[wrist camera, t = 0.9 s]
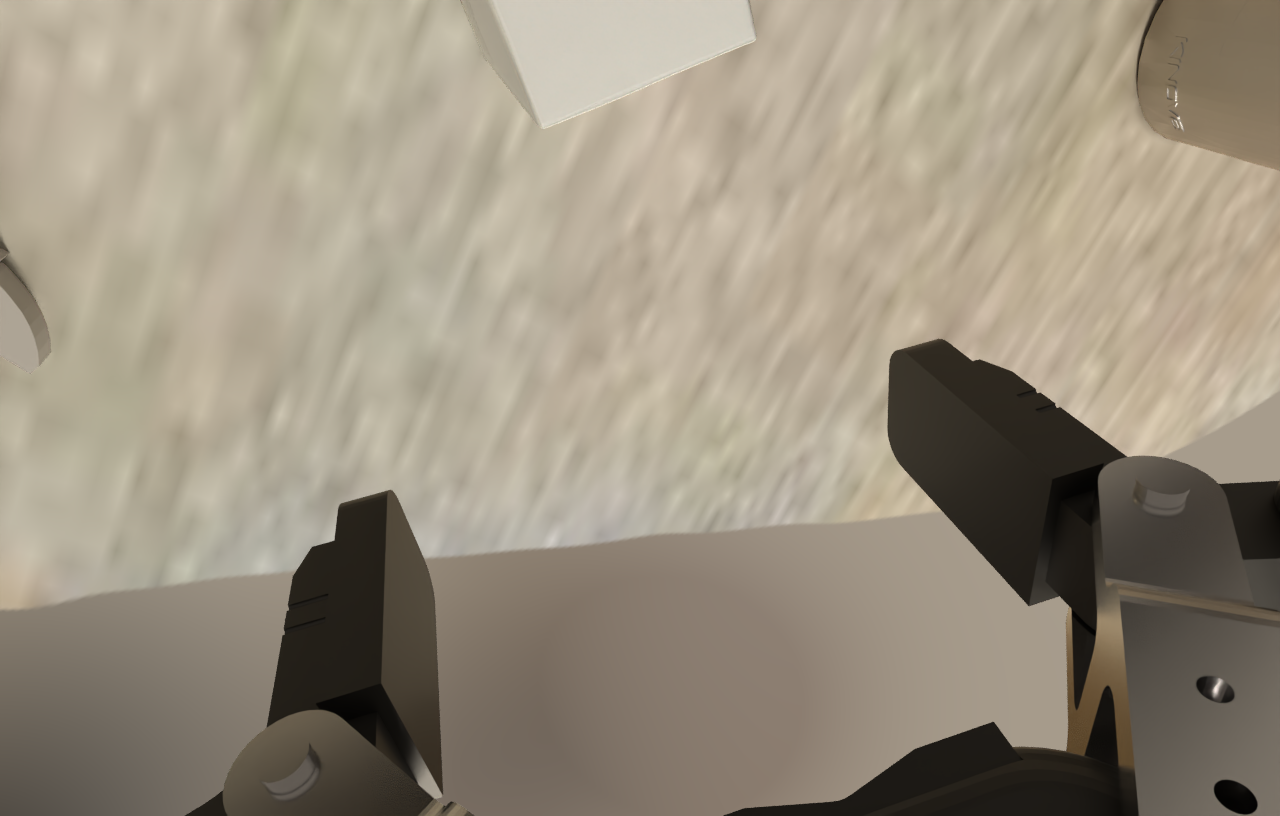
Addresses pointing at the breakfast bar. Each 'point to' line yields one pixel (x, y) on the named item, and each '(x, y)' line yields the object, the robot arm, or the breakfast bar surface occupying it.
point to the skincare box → (599, 46)
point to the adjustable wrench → (21, 323)
